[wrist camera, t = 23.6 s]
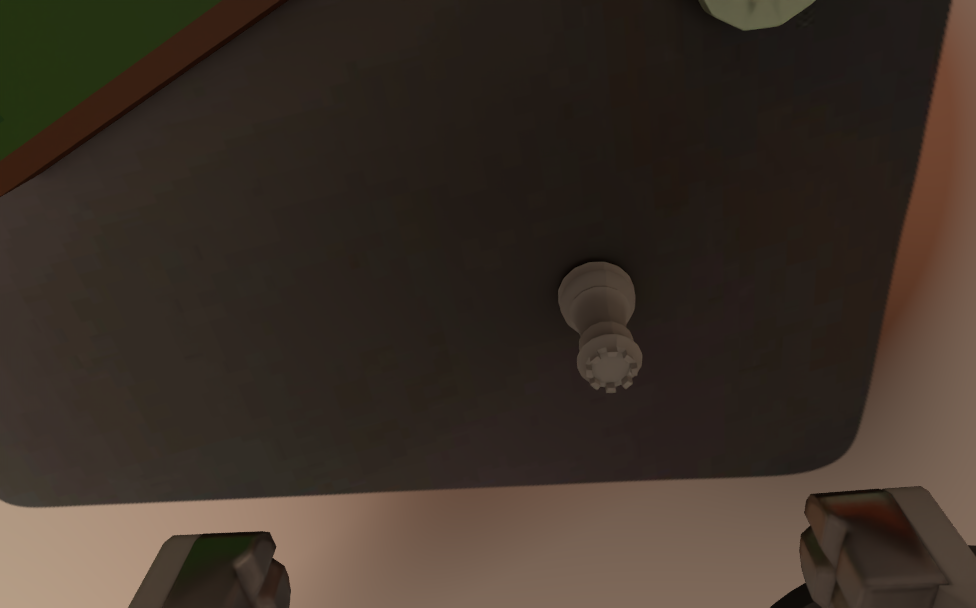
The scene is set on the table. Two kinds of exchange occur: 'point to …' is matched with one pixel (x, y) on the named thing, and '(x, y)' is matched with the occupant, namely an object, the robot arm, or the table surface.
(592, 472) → the table surface
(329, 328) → the table surface
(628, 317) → the rook chess piece
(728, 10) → the scale
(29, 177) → the hardcover book
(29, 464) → the table surface
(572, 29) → the table surface
